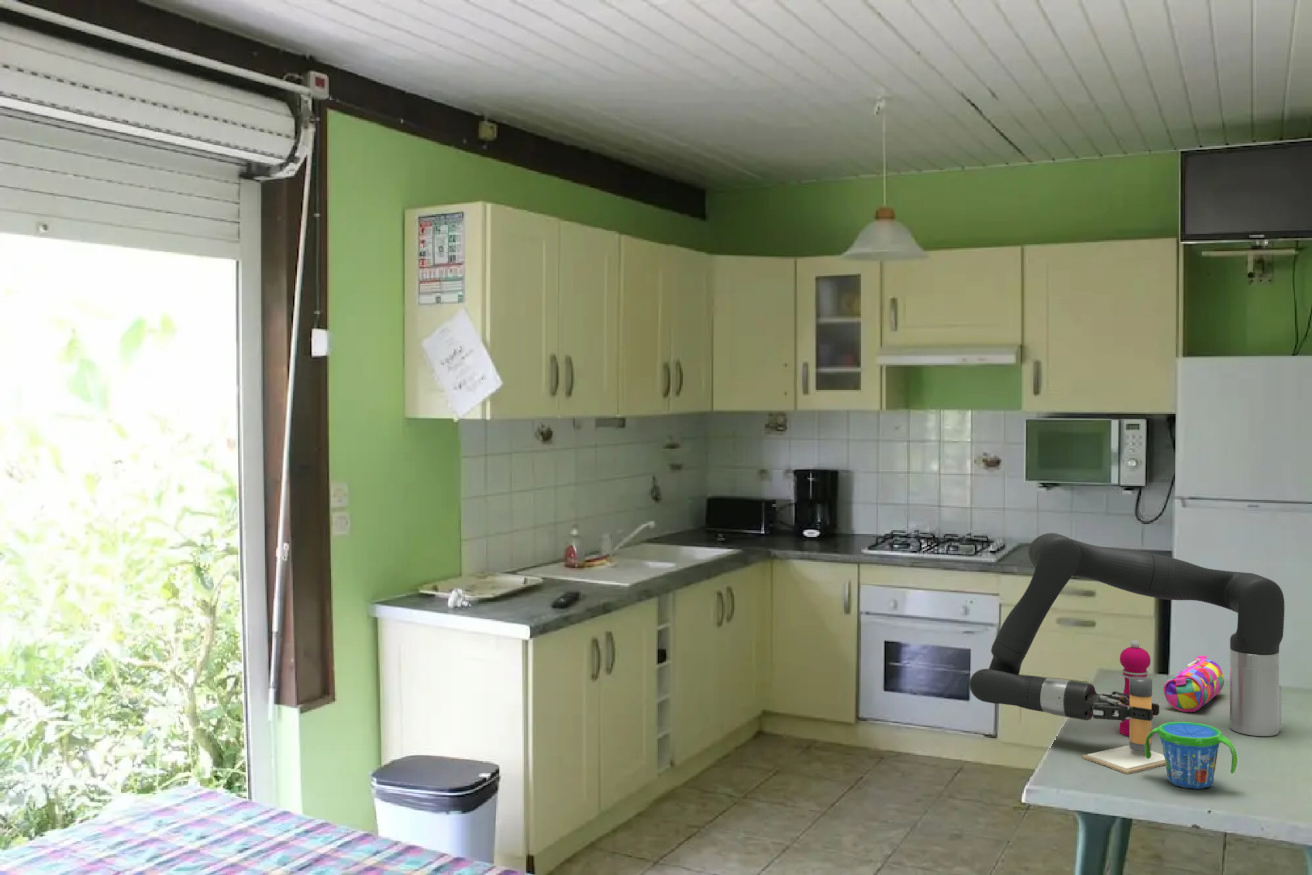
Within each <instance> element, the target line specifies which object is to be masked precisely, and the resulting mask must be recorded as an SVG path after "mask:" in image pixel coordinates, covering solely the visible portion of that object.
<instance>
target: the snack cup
mask: <svg viewBox="0 0 1312 875" xmlns="http://www.w3.org/2000/svg"><path fill="white" fill-rule="evenodd" d="M1155 733H1157V734H1158V736H1159V739H1160V743H1161V745H1162V751H1163V755H1164V757H1165V763H1166V765H1165V769H1166V774H1167V777H1168V780H1169V781H1170V782H1171V783H1172V784H1173V785H1175V786H1178V787H1180V786H1181V788H1184V789H1196V790H1199V789H1206V787H1207V788H1209V787H1212V786H1213V783H1214V779H1215V778H1214V776H1215V771H1216V767H1217V760H1218V751H1219V746H1220V743H1222V744H1224V745H1225V746H1227V747H1228V748H1229V752H1230V754H1231V768H1230V773H1231V774H1234V773H1235V771H1236V768H1237V766H1238V754H1237V751H1236V748H1235V746H1234V744H1233V743H1232V742H1231V740H1230V739H1229V738H1228V737H1226V736H1224V735H1223V733H1222V731H1221V730H1220V729H1218V728H1217V727H1214V726H1211V725H1208V724H1204V723H1200V722H1193V721H1192V722H1191V721H1171V722H1165V723H1162V724H1161V725H1159V726H1157V727H1155V728H1153V729H1151V732H1150V733H1149V734H1148V736H1147V738H1146V741H1145V748H1144V749H1145V755H1146V758H1147V759H1149V758H1150V757H1151V752H1150V745H1149V739H1150V738H1151V739H1152V736H1153V735H1154V734H1155Z"/></svg>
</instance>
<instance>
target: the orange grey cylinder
mask: <svg viewBox="0 0 1312 875" xmlns="http://www.w3.org/2000/svg"><path fill="white" fill-rule="evenodd" d="M1129 694H1130V706H1132V707H1133V706H1134V707H1140V708H1146V709H1151V710H1152V703H1153V702H1152V698H1153V697H1152V696H1153V679H1152V678H1150V677H1148V678H1147V677H1140V676H1134V677H1130V678H1129ZM1151 731H1152V721H1146V720H1140V719H1134V718H1132V719H1130V735H1129V736H1128V737H1129V744H1128V745H1129V748H1130V749H1132V750H1134V751H1139V752H1145V749H1144V748H1145V741H1146V738H1147V736H1148V734H1149V733H1150V732H1151ZM1149 745H1150V751H1152V737H1151V738H1150V739H1149Z"/></svg>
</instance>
